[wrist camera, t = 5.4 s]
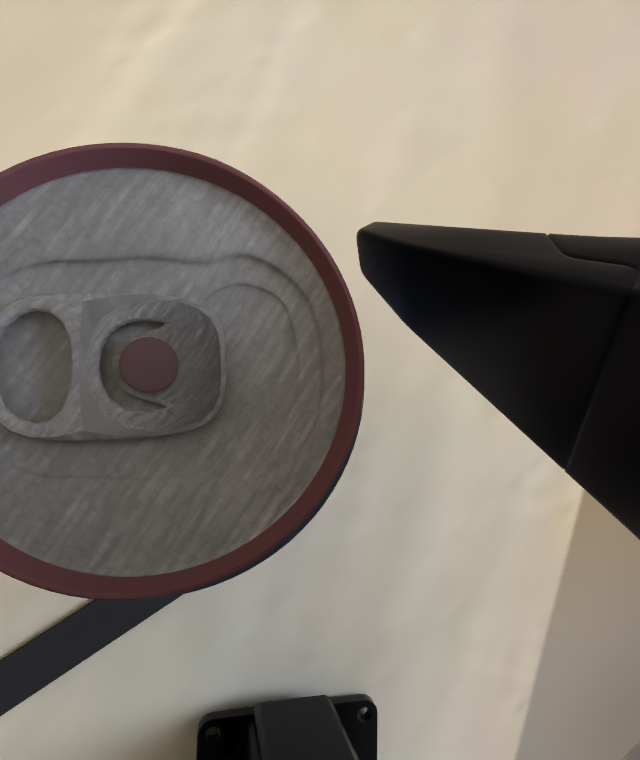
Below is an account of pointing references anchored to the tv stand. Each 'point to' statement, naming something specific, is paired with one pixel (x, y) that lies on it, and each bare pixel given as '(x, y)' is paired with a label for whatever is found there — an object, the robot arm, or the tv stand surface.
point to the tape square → (69, 645)
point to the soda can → (163, 372)
